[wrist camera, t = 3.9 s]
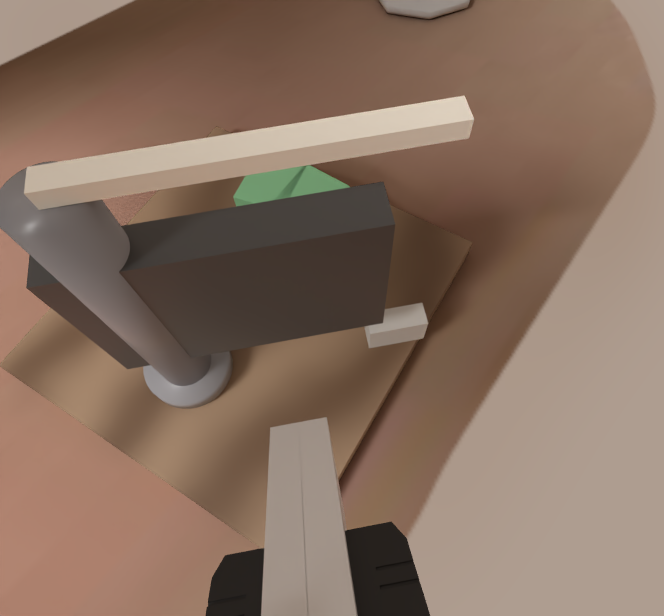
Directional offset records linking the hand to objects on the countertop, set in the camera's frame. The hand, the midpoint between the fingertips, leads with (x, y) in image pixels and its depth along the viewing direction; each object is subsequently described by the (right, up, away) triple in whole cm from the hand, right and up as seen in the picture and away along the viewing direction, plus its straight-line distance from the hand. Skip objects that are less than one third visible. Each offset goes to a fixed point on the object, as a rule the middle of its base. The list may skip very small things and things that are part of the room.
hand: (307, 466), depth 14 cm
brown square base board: (-4, +4, +16) cm, 17 cm away
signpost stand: (-2, +2, +14) cm, 14 cm away
